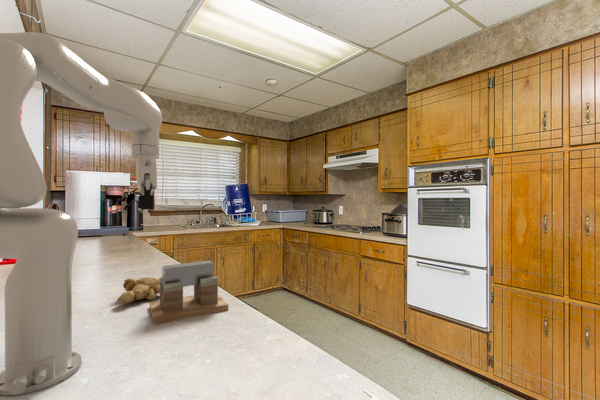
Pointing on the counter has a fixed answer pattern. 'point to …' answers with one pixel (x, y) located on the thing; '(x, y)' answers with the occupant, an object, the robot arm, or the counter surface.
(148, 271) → the counter surface
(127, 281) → the ginger root
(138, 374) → the counter surface
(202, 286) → the post rig
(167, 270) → the bracket bar
